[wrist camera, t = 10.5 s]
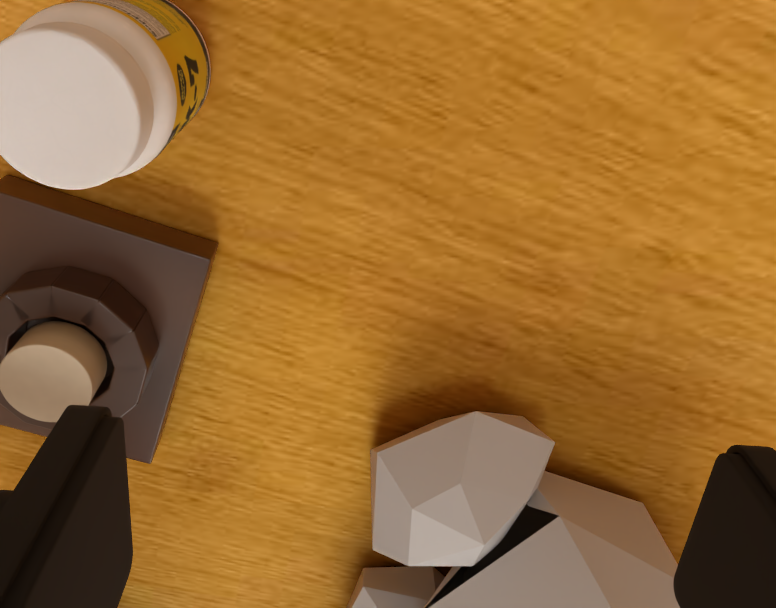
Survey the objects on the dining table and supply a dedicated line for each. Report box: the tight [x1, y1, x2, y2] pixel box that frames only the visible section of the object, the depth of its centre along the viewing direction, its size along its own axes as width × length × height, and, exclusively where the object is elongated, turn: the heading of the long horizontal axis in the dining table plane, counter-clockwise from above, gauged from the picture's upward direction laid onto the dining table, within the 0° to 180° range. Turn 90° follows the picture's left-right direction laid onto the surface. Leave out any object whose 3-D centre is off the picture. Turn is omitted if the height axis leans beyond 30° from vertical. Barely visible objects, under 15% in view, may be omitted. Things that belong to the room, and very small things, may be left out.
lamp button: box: [0, 321, 107, 422], centre depth 27 cm, size 3×3×2 cm
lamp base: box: [0, 175, 218, 464], centre depth 29 cm, size 10×8×4 cm
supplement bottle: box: [0, 0, 211, 190], centre depth 22 cm, size 5×5×8 cm
